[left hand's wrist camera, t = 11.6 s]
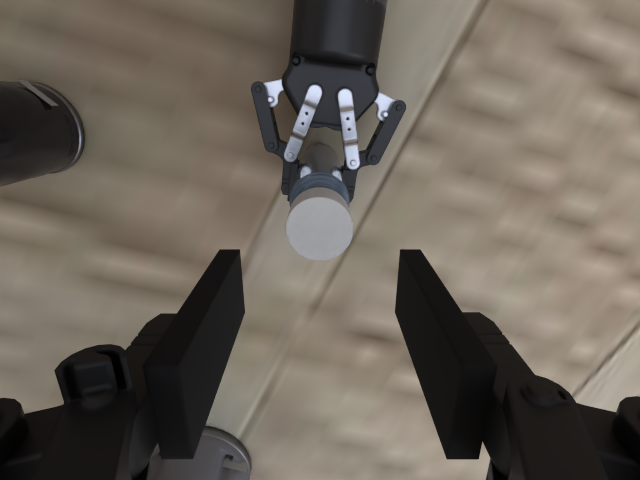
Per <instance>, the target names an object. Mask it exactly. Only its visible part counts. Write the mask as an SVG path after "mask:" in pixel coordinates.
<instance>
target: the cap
mask: <svg viewBox="0 0 640 480" xmlns="http://www.w3.org/2000/svg"><path fill="white" fill-rule="evenodd" d="M352 235H353V222H352V218H351V215H350V211H349V208H348V205H347V203H346V201H345V200H344V198H343V197H342V196H341V195H340V194H338V193H337V192H335V191H333V190H331V189H328V188H323V187H316V188H311V189H308V190H306V191H304V192H302V193H301V194H299V195H298V196H297V197H296V198H295V200H294V201H293V203H292V205H291V207H290V211H289V214H288V218H287V222H286V236H287V239H288V242H289V244H290V245H291V247H292V248H293V249H294V250H295V251H296V252H297V253H298V254H299V255H301V256H303V257H305V258H307V259H310V260H315V261H324V260H329V259H332V258H334V257H336V256H338V255H340V254H341V253H342V252H343V251H344V250H345V249H346V248H347V247H348V245H349V243H350V241H351V239H352Z"/></svg>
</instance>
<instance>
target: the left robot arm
mask: <svg viewBox="0 0 640 480" xmlns="http://www.w3.org/2000/svg"><path fill="white" fill-rule="evenodd" d="M244 314H245V307H244V294H243V282H242V270H241V258H240V250H219V251H218V253H217V254H216V256H215V257H214V259H213V260H212V262H211V263H210V265H209V266H208V268H207V269H206V271H205V272H204V274H203V275H202V277H201V278H200V280H199V281H198V283H197V284H196V286H195V287H194V289H193V290H192V292H191V293H190V295H189V296H188V298H187V299H186V301H185V302H184V304H183V305H182V307H181V308H180V310H179V311H178V313H177V314H159V315H158V316H156V317H155V318H153V319H152V320H151V321H149V322H148V323H146V325H145V326H144V327H143V328H142V330H141V331H140V332H139V334H138V336H136V337H135V339H134V340H133V341H132V343H131V346H129V347H128V348H127V349H126V350H124V349H123V348H122V347H120V346H116V345H112V344H108V345H97V346H93V347H89V348H85V349H83V350H81V351H79V352H76V353H74V354H72V355H71V356H69V357H68V358H66V359H65V360H63V361H62V362H61V363H60V364H59V365H58V367H57V368H56V369H55V370H54V371H55V374H56V377H57V380H58V383H59V387H60V390H61V393H62V396H63V400H64V404H63V405H61V406H57V407H53V408H49V409H44V410H40V411H36V412H31V413H27V414H24V412H23V409H22V406H21V404H20V403H19V402H18V401H16V400H15V399H9V398H1V399H0V480H249V478H250V473H251V459H250V456H249V454H248V452H247V450H246V449H245V447H244V446H243V445H242V444H241V443H240V442H239V441H238V440H237V439H235V438H234V437H232V436H231V435H229V434H227V433H225V432H223V431H220V430H217V429H214V428H210V427H205V424H206V421H207V419H208V416H209V413H210V410H211V407H212V404H213V402H214V399H215V396H216V393H217V390H218V387H219V385H220V382H221V379H222V376H223V373H224V370H225V368H226V365H227V362H228V359H229V356H230V353H231V350H232V348H233V345H234V342H235V339H236V336H237V333H238V331H239V328H240V325H241V322H242V319H243V316H244ZM395 314H396V316H397V319H398V322H399V325H400V328H401V331H402V333H403V336H404V339H405V342H406V345H407V348H408V350H409V353H410V356H411V359H412V362H413V365H414V368H415V370H416V373H417V376H418V379H419V382H420V385H421V387H422V390H423V393H424V396H425V399H426V402H427V404H428V407H429V410H430V413H431V416H432V419H433V421H434V424H435V427H436V430H437V433H438V436H439V438H440V441H441V444H442V447H443V450H444V453H445V455H446V458H447V459H479V455H480V450H481V445H482V441H483V443H484V445H485V447H486V449H487V451H488V454H489V456H490V458H491V459H490V463H489V468H488V472H487V477H486V480H640V397H638V396H635V397H626V398H625V399H623V400H622V401H621V402H620V403H619V406H618V409H617V412H612V411H607V410H603V409H598V408H594V407H590V406H585V405H581V404H578V403H576V402H575V400H574V399H573V397H572V396H571V394H570V393H569V392H568V391H566V390H565V389H564V388H563V387H561V386H560V385H559V384H557V383H555V382H553V381H551V380H549V379H547V378H544V377H540V376H537V375H535V374H534V373H533V372H532V370H531V369H530V368H529V367H528V365H527V364H526V363H525V362H524V360H523V359H522V358H521V356H520V355H519V354H518V353H517V351H516V350H515V349H514V347H513V346H512V345H511V344H509V341H508V340H507V338H506V337H505V336H504V335H502V332H501V331H500V329H499V328H498V327H497V326H496V324H495V323H494V322H493V321H492V320H490V319H489V318H487V317H486V316H484V315H483V314H481V313H480V312H462V311H461V310H460V308H459V307H458V305H457V304H456V302H455V301H454V299H453V298H452V296H451V295H450V293H449V292H448V290H447V289H446V287H445V286H444V284H443V283H442V281H441V280H440V278H439V277H438V275H437V274H436V272H435V271H434V269H433V268H432V266H431V265H430V263H429V262H428V260H427V259H426V257H425V256H424V254H423V253H422V251H421V250H400V258H399V270H398V282H397V294H396V307H395Z"/></svg>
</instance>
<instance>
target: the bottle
mask: <svg viewBox="0 0 640 480" xmlns="http://www.w3.org/2000/svg"><path fill="white" fill-rule="evenodd" d="M316 187H323V188H328V189H331V190H333V191H335V192H337V193H338V194H340V195H341V196H342V197H343V198H344V200H345V201H346V203H347V205H348V208H349V194H348V190H347V187H346V184H345V181H344V177H343V174H342V171H341V167H340V164H339V161H338V158H337V155H336V153H335V151H334V150H333V149H332V148H331V147H329V146H327V145H325V144H315V145H312V146H310V147H309V148H307V149H306V150H305V152H304V153H303V155H302V158H301V162H300V165H299V168H298V171H297V175H296V178H295V181H294V184H293V187H292V191H291V194H290V207H291V205H292V203H293V201H294V200H295V198H296V197H297V196H298V195H299V194H301V193H302V192H304V191H306V190H308V189H311V188H316Z"/></svg>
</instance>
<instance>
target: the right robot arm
mask: <svg viewBox="0 0 640 480" xmlns="http://www.w3.org/2000/svg"><path fill="white" fill-rule="evenodd" d="M386 6H387V0H294V11H293V23H292V35H291V47H290V59H289V64H288V67H287V69H286V71H285V73H284V74H283V76H282V79H280V80H275V81H270V82H265V83H262V82H255V83H253V84H252V87H251V91H252V95H253V99H254V104H255V108H256V112H257V116H258V120H259V125H260V129H261V133H262V137H263V142H264V146H265V149H266V150H267V151H268V152H272V153H274V154H276V155H278V156H280V157H281V158H282V160H283V175H282V187H281V190H282V193H283V194H284V195H288V201H290V194H291V191H292V187H293V184H294V181H295V178H296V175H297V171H298V168H299V161H300V160H298V153H299V151H300V148H301V146H302V143H303V141H304V138H305V136H306V133H307V131H308V128H309V127H314V128H319V127H328V128H331V129H333V130H338V131H341V136H342V142H343V149H344V156H345V161H344V166H342V167H341V171H342V174H343V177H344V181H345V184H346V187H347V190H348V194H349V202H351V201H352V199H353V196H354V189H355V183H356V176H357V172H358V170H359V169H360V168H361V167H363V166H366V165H376V164H378V163H379V161H380V159H381V157H382V155H383V153H384V151H385V149H386V148H387V146H388V144H389V142H390V140H391V138H392V136H393V134H394V132H395V130H396V128H397V126H398V124H399V122H400V120H401V118H402V116H403V114H404V112H405V110H406V105H405V103H404V102H403V101H401V100H394V99H393V98H391V97H389V96H387V95H385V94H383V93H381V92H379V86H378V83H377V80H376V69H377V63H378V57H379V50H380V44H381V38H382V31H383V25H384V19H385V13H386ZM18 81H19V82H5V81H0V187H1V186H5V185H8V184H12V183H16V182H19V181H23V180H27V179H30V178H34V177H38V176H42V175H45V174H51V173H56V172H60V171H63V170H66V169H68V168H70V167H71V166H72V165H74V164H75V163H76V162H77V160H78V159H79V157H80V156H81V154H82V151H83V147H84V130H83V126H82V123H81V120H80V118H79V116H78V114H77V112H76V110H75V109H74V107H73V106H72V105H71V104H70V102H69V101H68V100H67V99H66V98H65V97H64V96H62V95H61V94H60V93H58V92H57V91H56V90H54V89H52V88H50V87H48V86H46V85H43V84H40V83H35V82H27V81H26V80H18ZM282 91H285V93H286V95H287V97H288V99H289V100H290V102H291V104H292V106H293V108H294V110H295V111H296V113H297V115H298V118H297V120H296V123H295V126H294V128H293V131H292V134H291V136H290V139H289V142H288V143H286V142H284V141H283V140H281V139H280V137H279V133H278V128H277V124H276V119H275V114H274V110H273V107H275V106H277V105H278V103H279V95H280V93H281V92H282ZM373 103H375V104H376V105H377V111H376V117H377V118H378V119H379V120H380V122H379V124H378V126H377V128H376V130H375V132H374V134H373V136H372V138H371V140H370V142H369V145H368V147H367V149H366V150H363V151H358V140H357V132H356V124H355V123H356V121H357V120H358V119H359V118H360V117H361V116H362V115H363V114H364V113H365V112H366V111H367V109H368V108H369V107H370V106H371V105H372V104H373Z"/></svg>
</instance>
